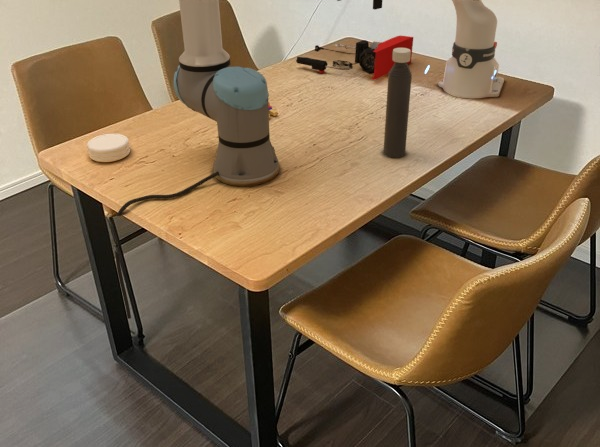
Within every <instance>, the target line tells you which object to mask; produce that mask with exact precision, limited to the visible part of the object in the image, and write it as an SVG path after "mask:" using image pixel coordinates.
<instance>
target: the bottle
mask: <svg viewBox="0 0 600 447" xmlns="http://www.w3.org/2000/svg"><path fill="white" fill-rule="evenodd" d="M387 76H388V77H387V89H386V90H387V91H386V104H385V105H386V107H385V108H386V109H385V123H384V136H383V137H384V138H383V139H384V140H383V152H382V153H383V155H384V156H386V157H389V158H392V159H393V158H394V159H395V158H396V159H397V158H402V157H405V155H406V148H407V136H408V123H409V112H410V101H411V90H412V77H413V74H412V71H411V69H410V66H409V64H407V62H406V63H398V62H395V64H394V65H393V67H392V69H391V70H390V71H389V73H388V74H387Z"/></svg>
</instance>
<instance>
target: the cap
mask: <svg viewBox="0 0 600 447" xmlns="http://www.w3.org/2000/svg"><path fill="white" fill-rule="evenodd" d="M410 57H411V50H410V49H408V48H395V49H393V56H392V60H393V61H394V62H398V63H406V62H409V61H410ZM411 58H412V57H411Z"/></svg>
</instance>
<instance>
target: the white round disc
mask: <svg viewBox="0 0 600 447" xmlns="http://www.w3.org/2000/svg"><path fill="white" fill-rule="evenodd" d="M86 148H87V152H88V157H89V158H90V159H91V160H93V161H95V162H97V163H110V162H117V161H120V160H122V159H124V158H126V157H127V156H128V155H129V154H130V153H131V147H130V140H129V138H128V136H126V135H124V134H121V133H104V134H100V135H97V136H95V137H92V138H90V140H88V142H87V143H86Z"/></svg>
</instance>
